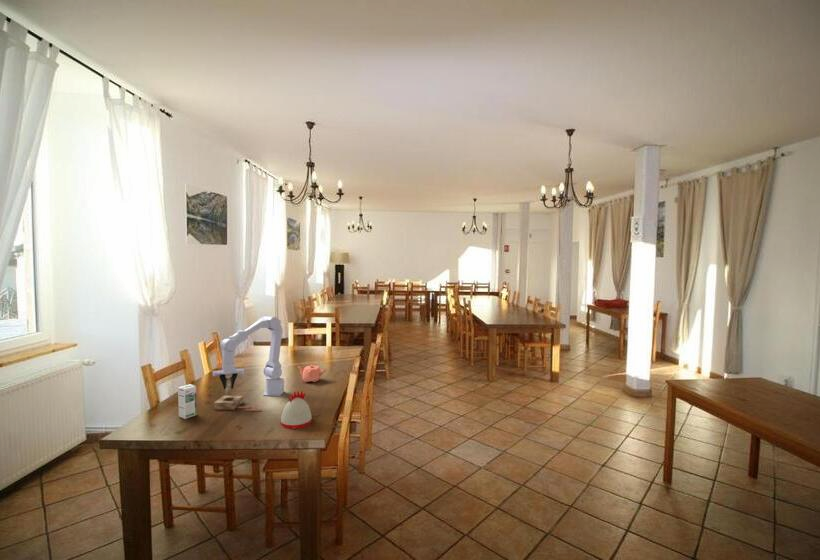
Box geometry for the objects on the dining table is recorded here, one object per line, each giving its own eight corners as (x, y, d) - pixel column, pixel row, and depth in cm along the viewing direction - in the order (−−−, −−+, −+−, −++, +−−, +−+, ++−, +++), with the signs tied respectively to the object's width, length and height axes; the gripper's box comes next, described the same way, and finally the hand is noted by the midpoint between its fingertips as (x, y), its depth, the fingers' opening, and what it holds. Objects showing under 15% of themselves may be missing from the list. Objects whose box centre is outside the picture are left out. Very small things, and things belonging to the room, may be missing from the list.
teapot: (317, 376, 252) (317, 361, 252) (326, 381, 243) (326, 365, 242) (296, 381, 243) (296, 365, 242) (305, 385, 234) (305, 369, 233)
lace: (264, 408, 197) (264, 407, 197) (261, 411, 194) (261, 410, 193) (234, 407, 198) (234, 406, 198) (231, 410, 194) (231, 409, 194)
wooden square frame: (242, 402, 205) (242, 396, 205) (233, 409, 195) (233, 403, 195) (224, 402, 205) (224, 395, 205) (214, 409, 195) (214, 402, 195)
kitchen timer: (315, 424, 179) (315, 392, 179) (285, 431, 172) (285, 398, 171) (306, 414, 191) (306, 384, 190) (277, 420, 184) (277, 389, 183)
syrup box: (184, 419, 183) (184, 389, 182) (178, 416, 186) (177, 386, 185) (196, 415, 188) (196, 385, 187) (190, 412, 191) (189, 383, 190)
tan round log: (233, 391, 201) (232, 376, 201) (230, 393, 198) (230, 378, 198) (227, 391, 201) (226, 376, 201) (224, 393, 198) (224, 378, 198)
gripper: (244, 359, 205) (244, 384, 206) (213, 361, 200) (213, 387, 201) (243, 362, 199) (243, 388, 199) (212, 364, 194) (212, 391, 194)
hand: (228, 388), depth 200 cm, fingers closed on tan round log, 3 cm apart
